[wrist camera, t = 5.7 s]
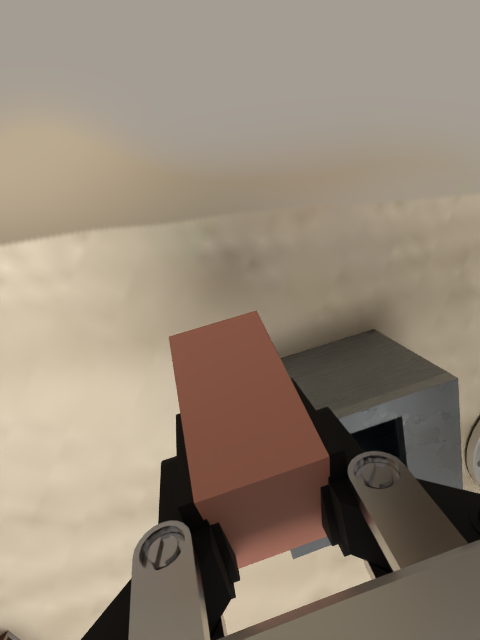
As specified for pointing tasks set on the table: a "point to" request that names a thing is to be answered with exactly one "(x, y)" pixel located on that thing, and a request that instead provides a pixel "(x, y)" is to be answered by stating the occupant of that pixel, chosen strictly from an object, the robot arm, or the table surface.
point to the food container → (8, 636)
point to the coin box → (385, 404)
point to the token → (248, 439)
